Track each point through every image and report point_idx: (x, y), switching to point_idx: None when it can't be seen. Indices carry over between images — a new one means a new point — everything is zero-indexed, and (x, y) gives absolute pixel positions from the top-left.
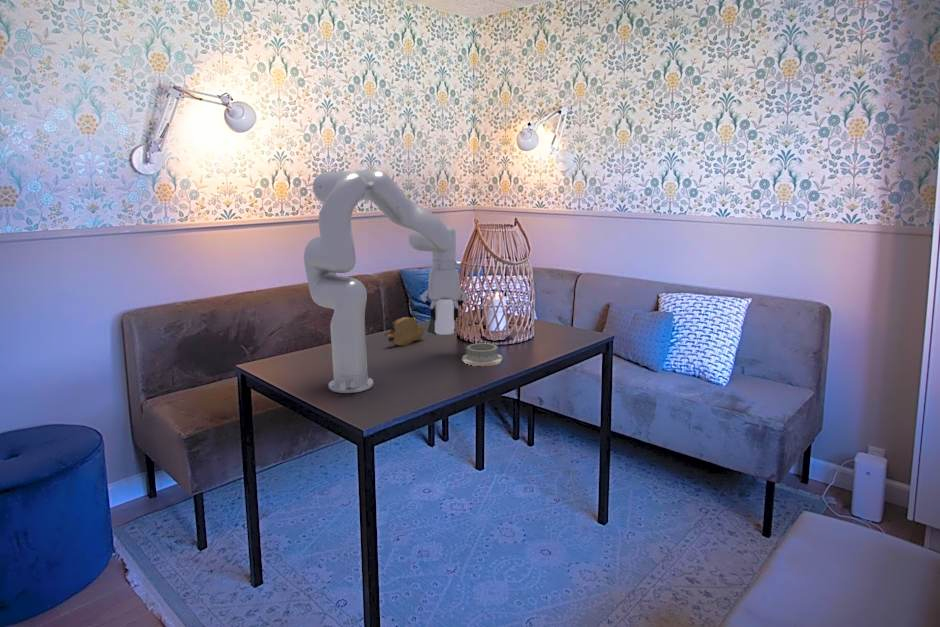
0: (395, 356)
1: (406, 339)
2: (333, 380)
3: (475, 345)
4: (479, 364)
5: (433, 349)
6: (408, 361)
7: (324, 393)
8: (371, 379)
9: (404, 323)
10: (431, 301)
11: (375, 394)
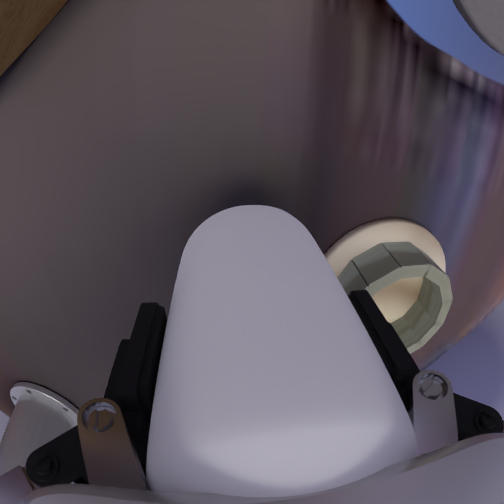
0: (34, 204)
1: (42, 14)
2: (13, 398)
3: (389, 281)
4: None
5: (184, 89)
6: (95, 272)
7: None
8: (73, 413)
9: None
10: (96, 475)
11: None
